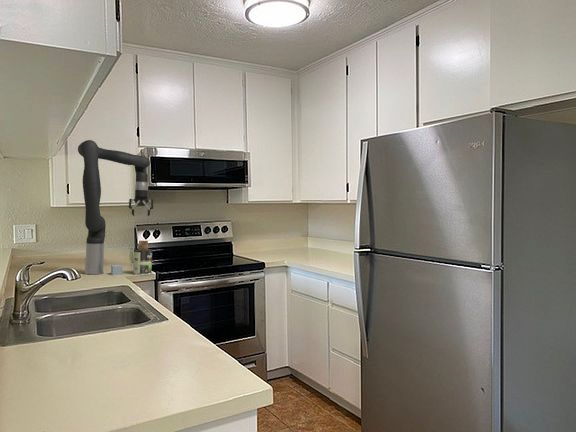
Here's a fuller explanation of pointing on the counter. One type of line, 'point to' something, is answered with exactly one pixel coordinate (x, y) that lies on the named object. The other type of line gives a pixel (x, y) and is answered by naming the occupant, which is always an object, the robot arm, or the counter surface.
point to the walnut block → (143, 245)
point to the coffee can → (142, 262)
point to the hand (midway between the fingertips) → (140, 215)
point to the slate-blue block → (116, 269)
